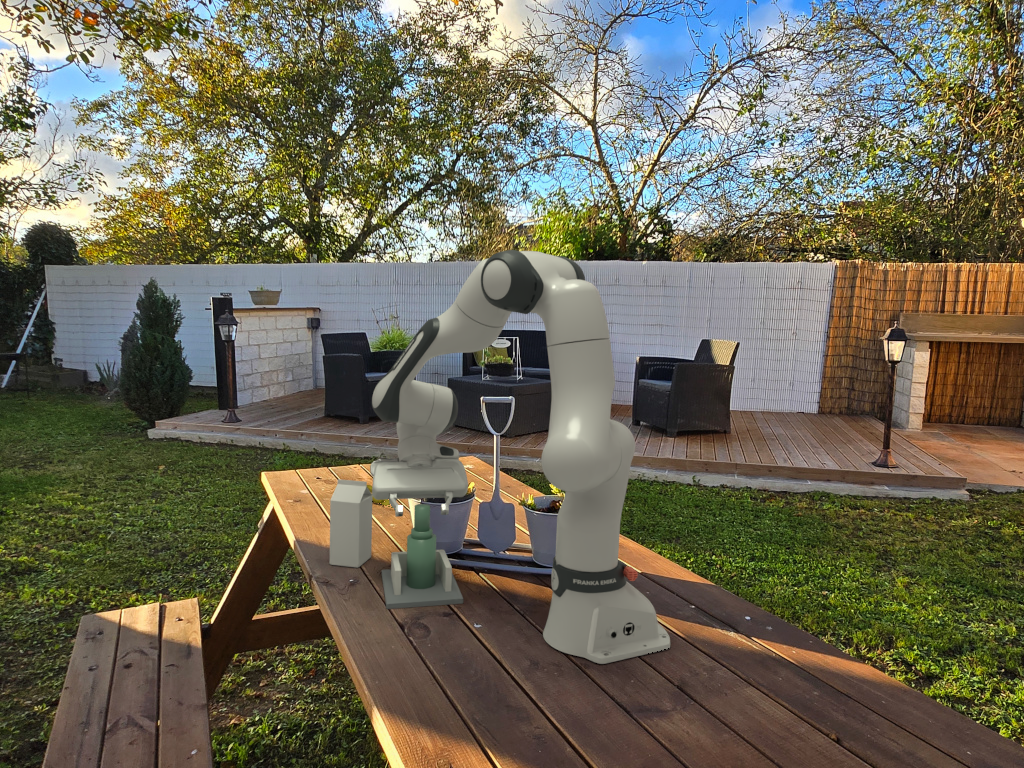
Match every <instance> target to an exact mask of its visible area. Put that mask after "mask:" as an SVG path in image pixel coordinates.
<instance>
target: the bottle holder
mask: <svg viewBox="0 0 1024 768" xmlns="http://www.w3.org/2000/svg"><path fill="white" fill-rule="evenodd" d="M390 557H391V558H390V561H391V562H390V569H386V568H385V569H381V581H382V586H383V592H384V601H385V608H386V610H392V609H393V610H394V609H405V608H406V609H407V608H418V607H419V608H420V607H433V606H444V605H445V606H448V605H449V606H450V605H458V604H459V605H461V604H464V597H463V594H462V593H461V589H460V588H459V585H458V583H457V581H456V578H455V576H454V573H453V568H452V565H451V562H450V560H449V558H448V555H447V553H446V551H445V549H436V572H435V585H434V586H432V587H430V588H426V589H414V588H410V587H408V586H407V585H406V575H407V551H393V552H391V556H390Z"/></svg>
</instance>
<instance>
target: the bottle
mask: <svg viewBox="0 0 1024 768" xmlns="http://www.w3.org/2000/svg"><path fill="white" fill-rule="evenodd" d="M413 515H414V522H413V523H414V525H413V526H414V527H412V528H411V529H410V533H409V534H408V535H407V538H406V552H407V575H406V585H407V586H408V587H410V588H414V589H426V588H430V587H432V586H434V585H435V572H436V550H437V535H436V534H434V533H433V528H432V527H431V505H430V504H426V503H419V504H415V505H414V514H413Z"/></svg>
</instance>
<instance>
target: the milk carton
mask: <svg viewBox="0 0 1024 768" xmlns="http://www.w3.org/2000/svg"><path fill="white" fill-rule="evenodd" d="M367 485H368V482H367V481H364V480H363V481H360V480H351V479H350V480H349V479H340V478H338V479H337V485H336V486H335V489H334V492H333V494H332V496H331V498H330V507H329V508H330V509H329V513H330V515H329V565H331V566H332V565H333V566H339V567H340V566H341V567H349V568H360V567H361V566H362V565H363V564H365V563H366V562H367V561H368V560H369V559H371V558H372V547H373V546H372V544H373V543H372V542H373V540H372V539H373V538H372V537H373V534H372V533H373V502H372V494H371V492H370V491H369V489H368V488H367Z"/></svg>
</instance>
